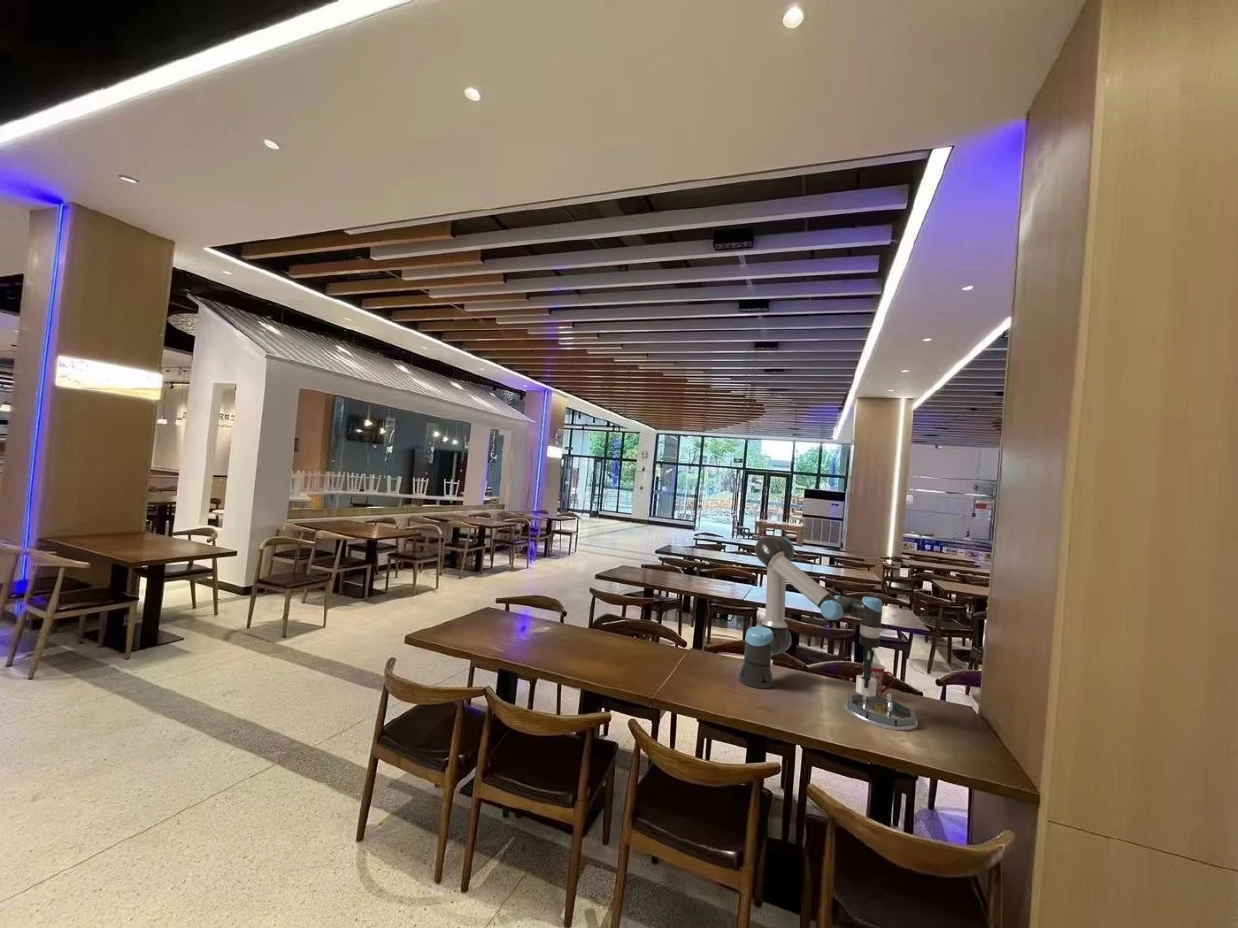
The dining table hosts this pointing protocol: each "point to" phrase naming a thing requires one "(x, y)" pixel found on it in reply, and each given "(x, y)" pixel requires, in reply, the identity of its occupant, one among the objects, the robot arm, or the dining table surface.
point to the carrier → (881, 712)
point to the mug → (879, 677)
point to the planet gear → (872, 685)
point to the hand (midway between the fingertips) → (865, 692)
